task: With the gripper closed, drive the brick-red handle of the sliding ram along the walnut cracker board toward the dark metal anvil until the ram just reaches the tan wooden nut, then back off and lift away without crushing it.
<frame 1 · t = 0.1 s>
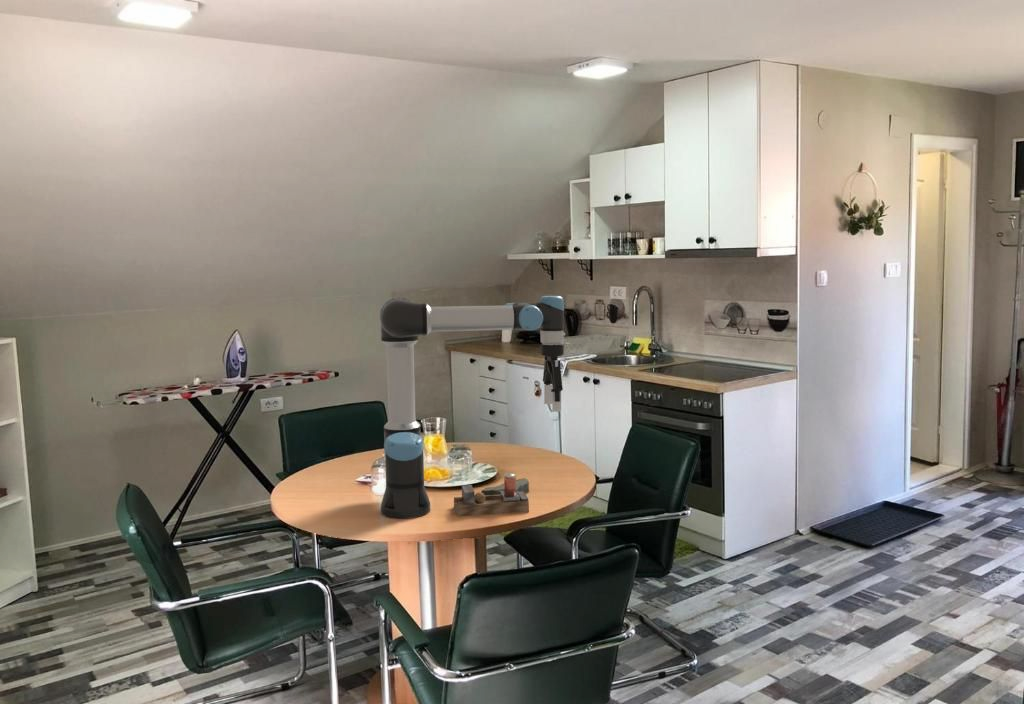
hand: (552, 407, 276), 28 cm above the table, fingers open, 13 cm apart
rock: (505, 495, 277), on the table
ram: (510, 487, 259), point 7 cm above the table, slide at 0.0 cm
board: (491, 509, 259), on the table
nut: (479, 503, 258), point 2 cm above the table, touching board
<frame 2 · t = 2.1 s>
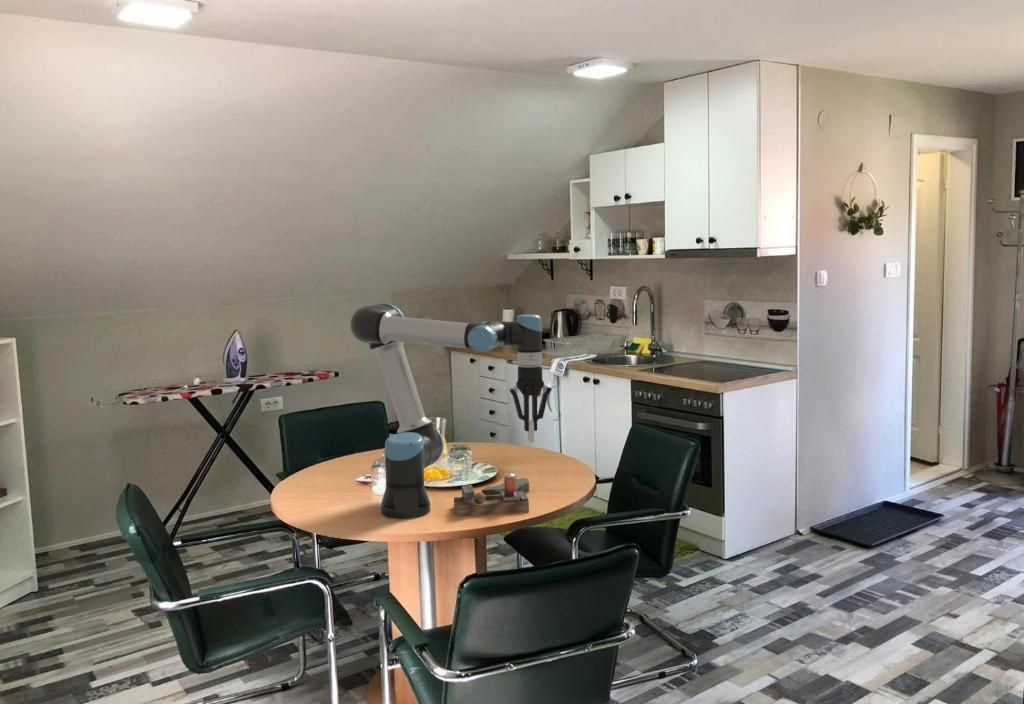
hand: (530, 441, 259), 21 cm above the table, fingers closed
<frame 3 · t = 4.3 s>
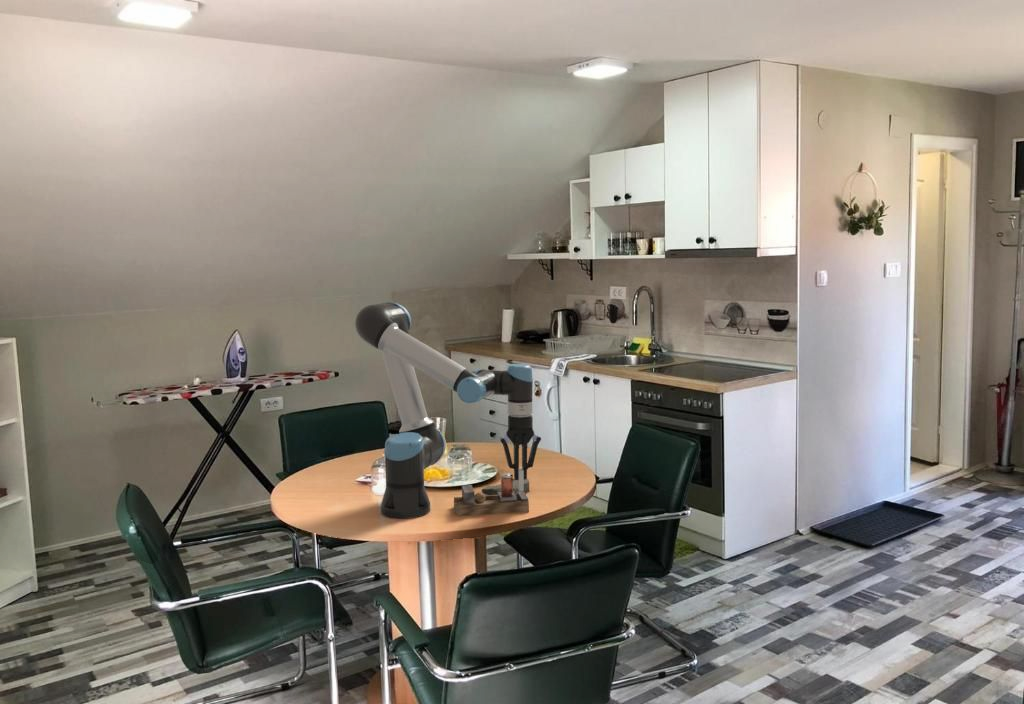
hand: (520, 489, 260), 6 cm above the table, fingers closed
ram: (507, 487, 259), point 7 cm above the table, slide at 0.9 cm, touching gripper
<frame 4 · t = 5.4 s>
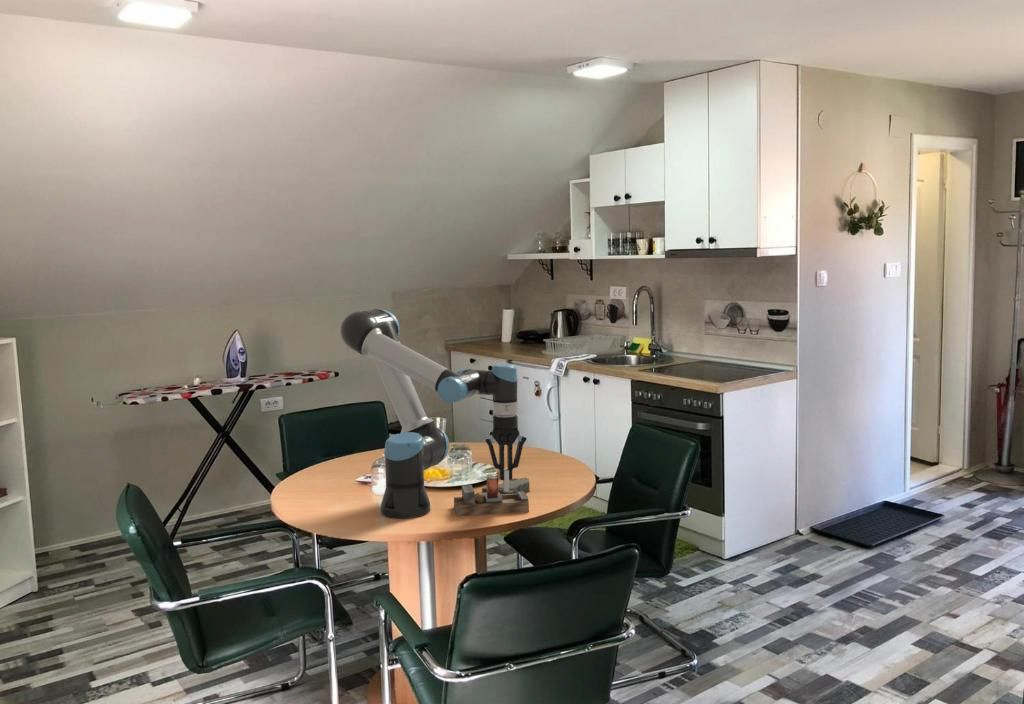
hand: (506, 490, 259), 6 cm above the table, fingers closed
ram: (492, 488, 258), point 7 cm above the table, slide at 5.4 cm, touching gripper, nut
nut: (479, 503, 258), point 2 cm above the table, tilted 6°, touching board, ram
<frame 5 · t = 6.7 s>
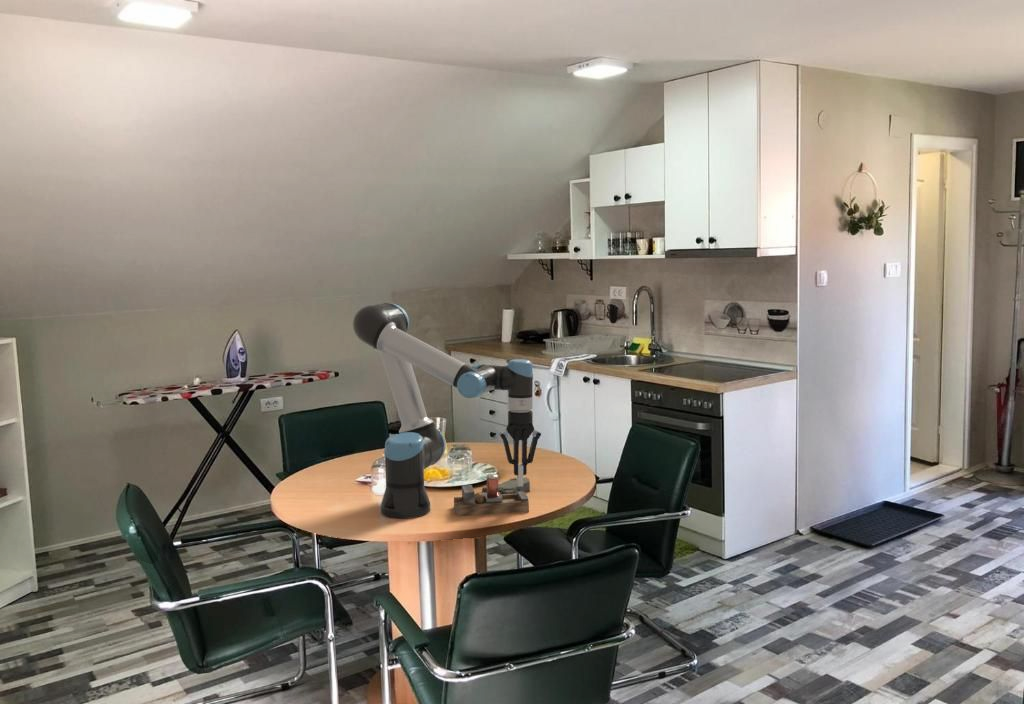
hand: (520, 485, 260), 7 cm above the table, fingers closed
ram: (492, 488, 258), point 7 cm above the table, slide at 5.4 cm, touching nut
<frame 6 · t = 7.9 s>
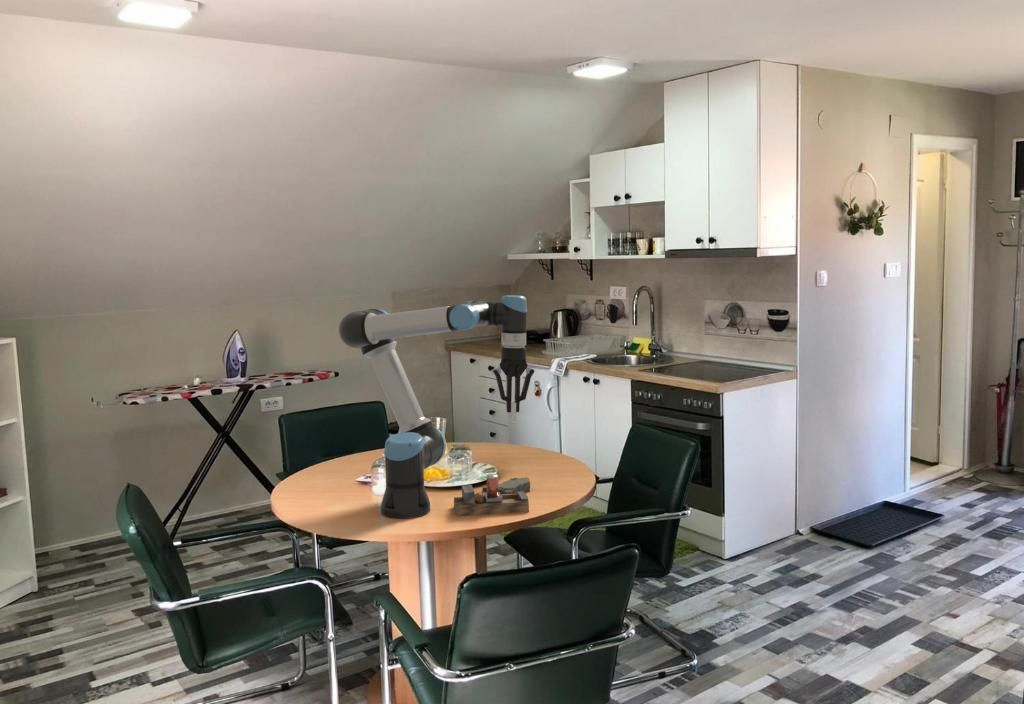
hand: (512, 422, 258), 27 cm above the table, fingers closed
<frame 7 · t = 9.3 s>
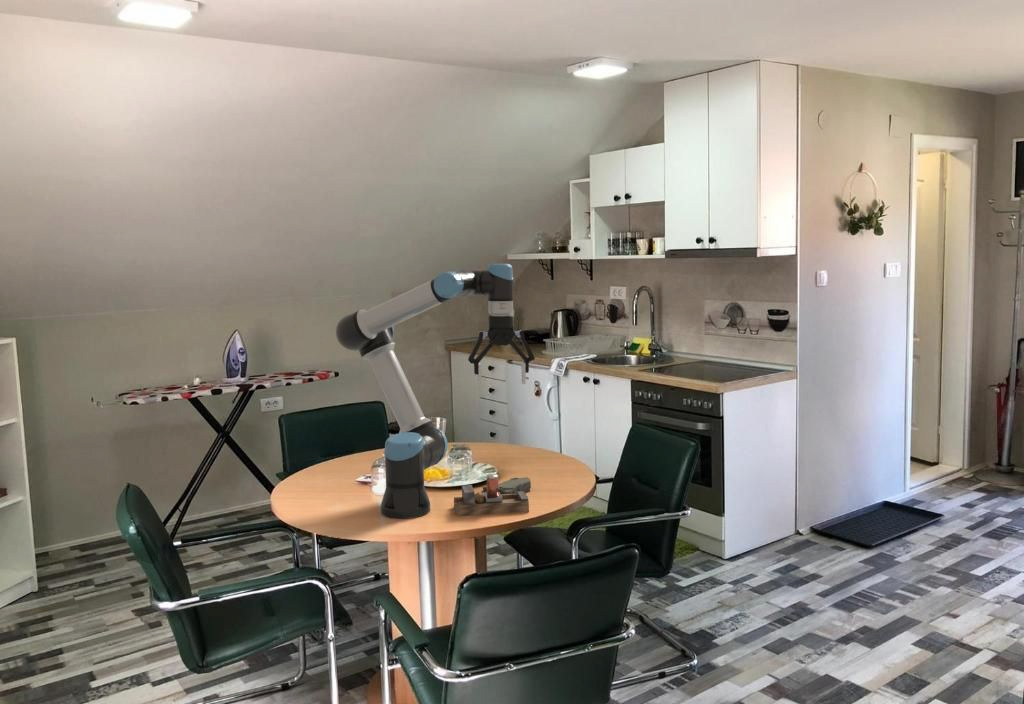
hand: (501, 384, 257), 39 cm above the table, fingers open, 13 cm apart
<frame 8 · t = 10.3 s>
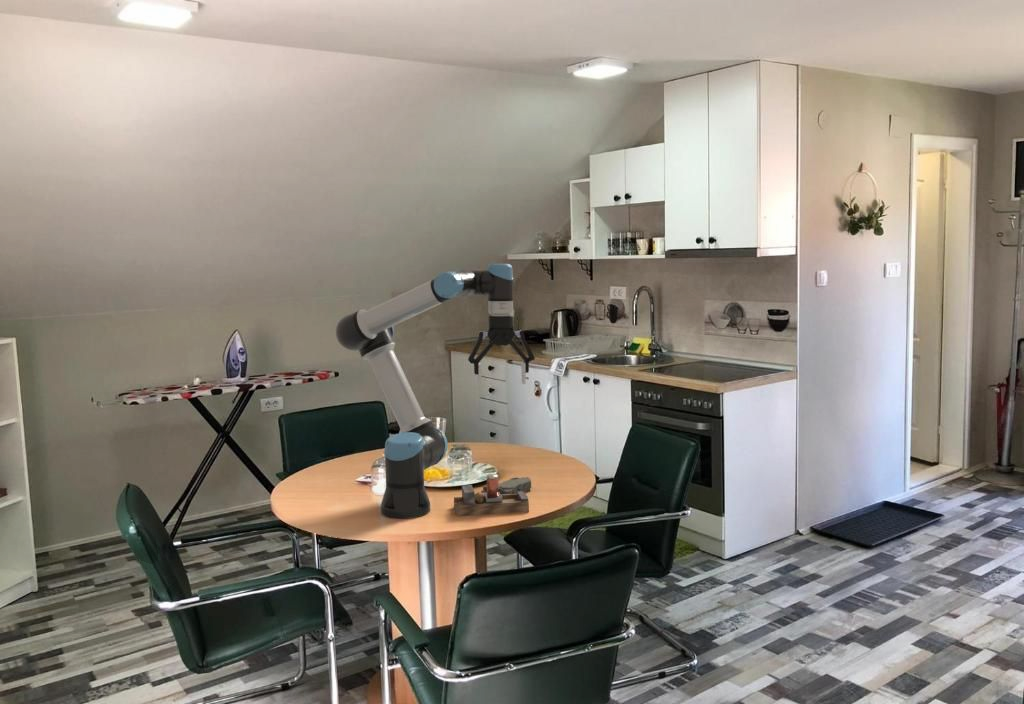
hand: (501, 384, 257), 39 cm above the table, fingers open, 13 cm apart
at the end: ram slide at 5.4 cm; nut moved 0.0 cm from its start; the gripper is holding nothing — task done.
